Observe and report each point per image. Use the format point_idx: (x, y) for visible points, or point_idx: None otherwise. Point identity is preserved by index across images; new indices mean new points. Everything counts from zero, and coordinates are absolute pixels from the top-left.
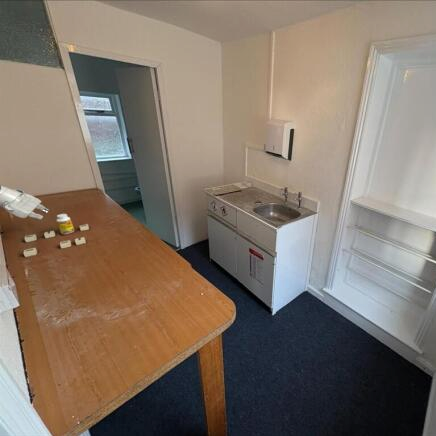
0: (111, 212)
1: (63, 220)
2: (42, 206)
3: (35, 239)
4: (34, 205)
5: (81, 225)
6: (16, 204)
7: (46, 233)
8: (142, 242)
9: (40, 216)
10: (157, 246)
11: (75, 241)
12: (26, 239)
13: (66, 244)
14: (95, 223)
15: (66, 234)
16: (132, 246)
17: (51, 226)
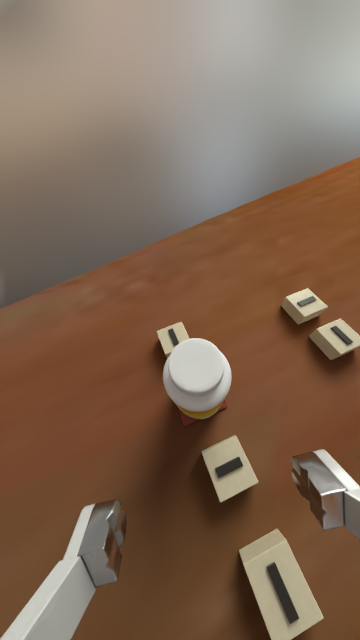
0: (31, 316)
1: (225, 358)
2: (34, 624)
3: (279, 533)
4: None
5: (166, 347)
6: None
7: (239, 478)
8: (292, 202)
9: (340, 469)
10: (310, 183)
11: (327, 306)
12: (312, 598)
13: (348, 328)
14: (128, 329)
15: None
16: (314, 210)
17: None
